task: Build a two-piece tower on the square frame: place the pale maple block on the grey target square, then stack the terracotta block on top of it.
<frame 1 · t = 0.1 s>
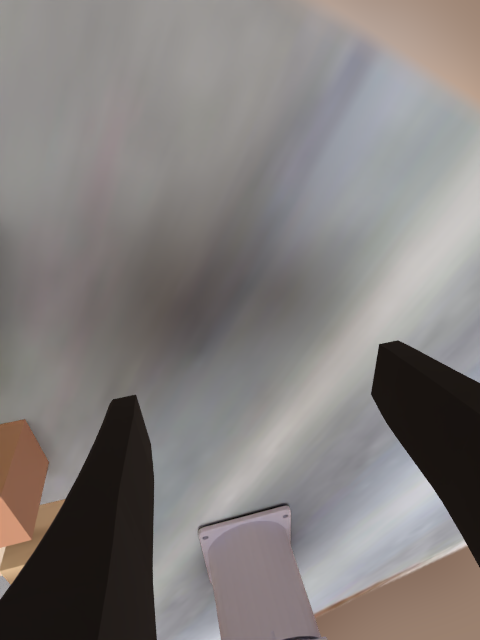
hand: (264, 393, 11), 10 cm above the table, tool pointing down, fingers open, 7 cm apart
terracotta block: (2, 448, 23), on the table
maple block: (65, 519, 28), on the table
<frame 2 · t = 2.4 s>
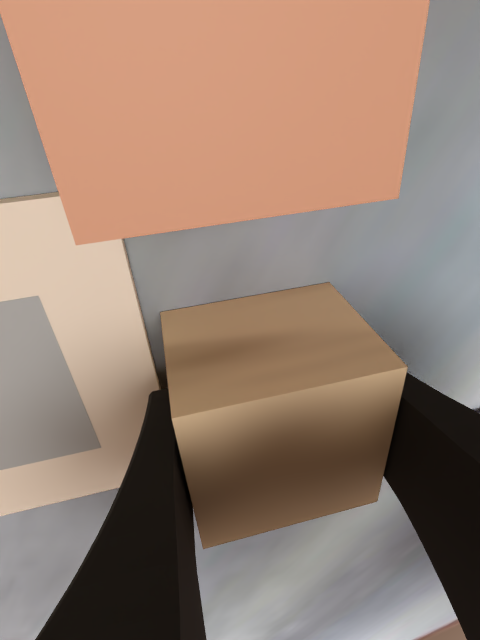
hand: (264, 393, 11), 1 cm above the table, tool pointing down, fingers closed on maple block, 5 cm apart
terracotta block: (181, 42, 8), on the table
maple block: (252, 363, 12), on the table, touching gripper
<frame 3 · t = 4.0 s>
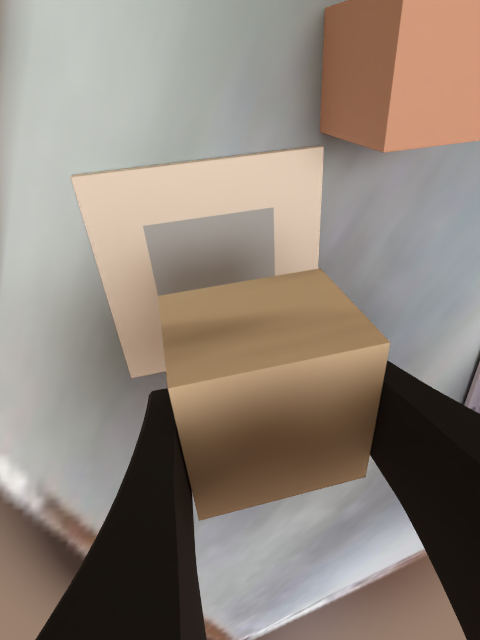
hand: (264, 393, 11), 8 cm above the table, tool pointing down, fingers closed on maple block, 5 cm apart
terracotta block: (369, 70, 15), on the table
square frame: (215, 271, 18), on the table
maple block: (246, 347, 13), point 6 cm above the table, touching gripper
when the fingers open (3 cm above the table, at t = 5.5 s): maple block stays where it is, resting on square frame.
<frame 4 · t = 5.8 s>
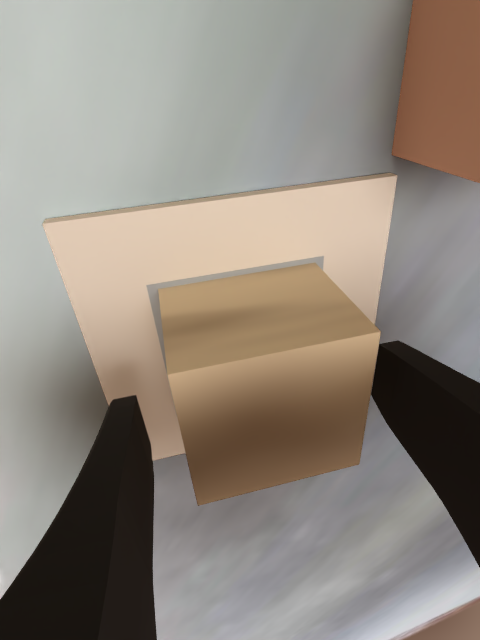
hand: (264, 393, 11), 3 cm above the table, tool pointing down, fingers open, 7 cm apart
terracotta block: (467, 69, 11), on the table
square frame: (241, 336, 14), on the table
maple block: (244, 339, 13), resting on square frame
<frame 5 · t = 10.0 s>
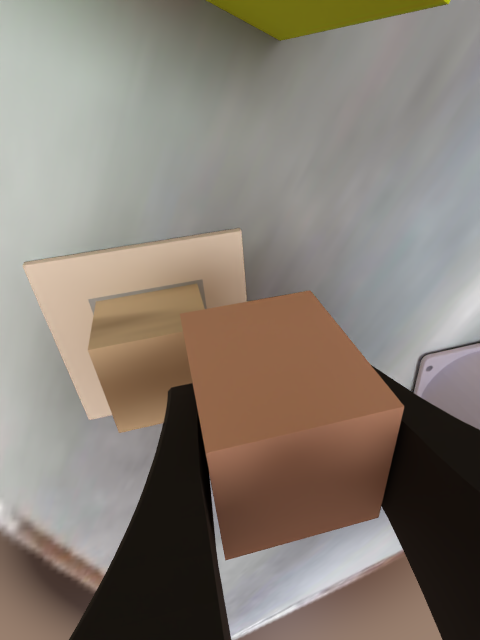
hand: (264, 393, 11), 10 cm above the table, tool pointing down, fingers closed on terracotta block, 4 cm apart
terracotta block: (250, 354, 13), point 8 cm above the table, touching gripper
square frame: (157, 330, 21), on the table
maple block: (157, 333, 20), resting on square frame
when the fingers open (7 cm above the table, at t = 11.5 s): terracotta block stays where it is, resting on maple block.
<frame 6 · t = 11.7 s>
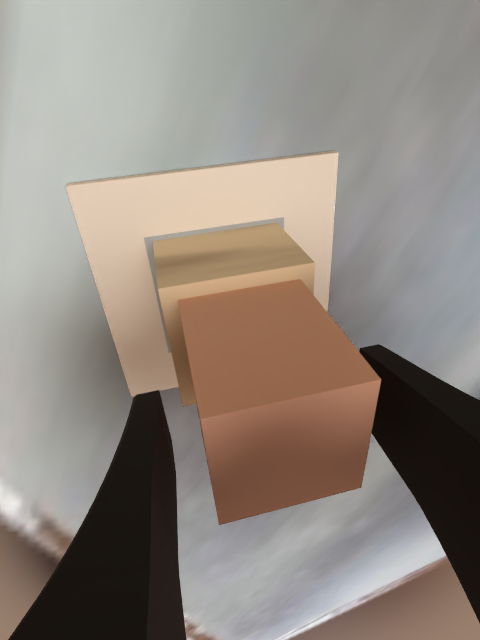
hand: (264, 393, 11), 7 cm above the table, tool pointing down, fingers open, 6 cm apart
terracotta block: (244, 339, 13), point 4 cm above the table, touching maple block
square frame: (220, 285, 17), on the table
maple block: (222, 287, 17), resting on square frame, touching terracotta block
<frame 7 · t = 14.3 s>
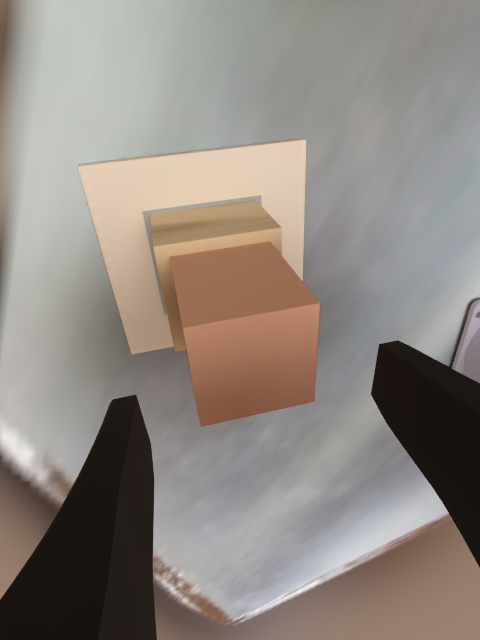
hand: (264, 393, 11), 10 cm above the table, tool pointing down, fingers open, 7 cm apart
terracotta block: (225, 293, 16), point 4 cm above the table, touching maple block
square frame: (208, 255, 20), on the table
maple block: (209, 256, 19), resting on square frame, touching terracotta block
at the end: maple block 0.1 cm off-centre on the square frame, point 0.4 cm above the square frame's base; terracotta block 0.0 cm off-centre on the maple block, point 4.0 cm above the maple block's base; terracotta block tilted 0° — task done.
